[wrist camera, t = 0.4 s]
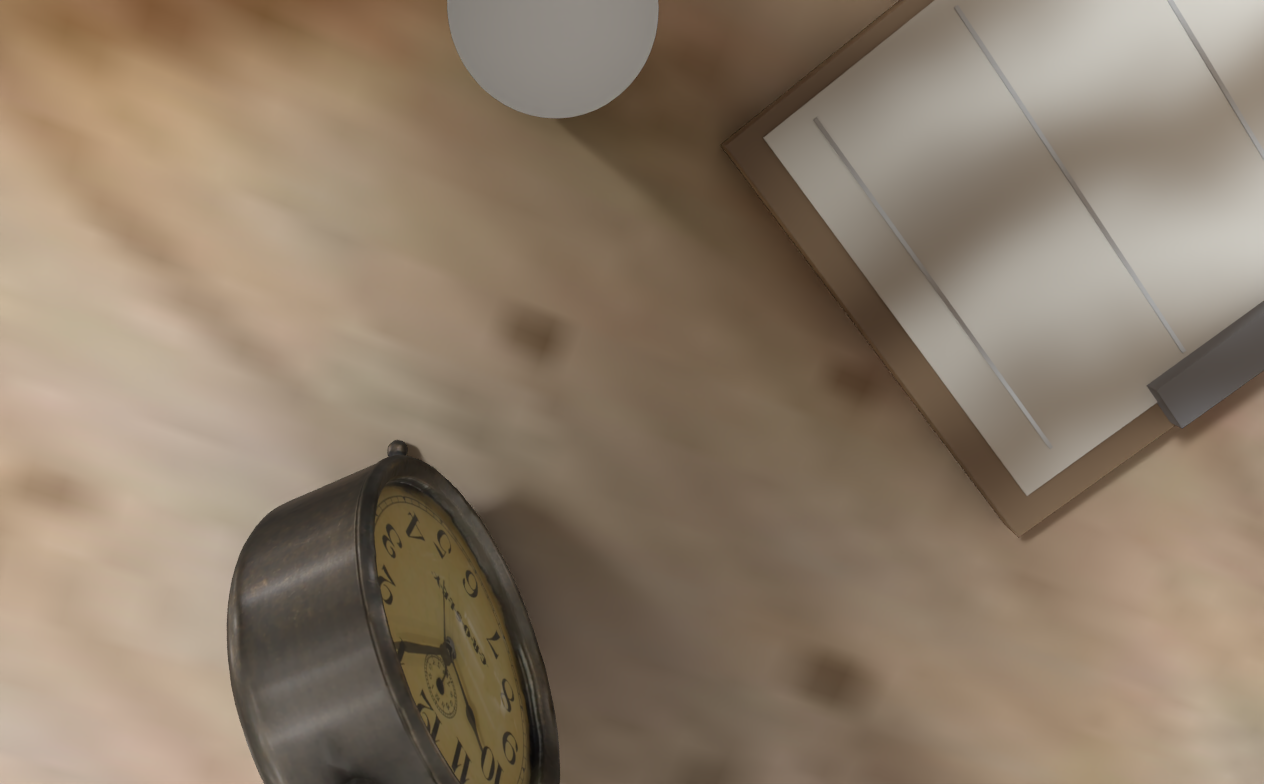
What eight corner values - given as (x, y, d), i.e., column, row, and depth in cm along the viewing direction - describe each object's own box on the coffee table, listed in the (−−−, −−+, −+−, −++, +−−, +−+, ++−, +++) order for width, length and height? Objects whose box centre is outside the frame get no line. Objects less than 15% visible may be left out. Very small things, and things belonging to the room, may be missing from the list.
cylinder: (474, 41, 31) (402, -10, 19) (574, -45, 30) (568, -154, 18) (557, 145, 31) (539, 160, 19) (655, 63, 31) (701, 27, 19)
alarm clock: (573, 671, 36) (565, 1098, 20) (433, 731, 36) (318, 1196, 21) (429, 394, 33) (291, 641, 18) (279, 461, 34) (12, 763, 18)
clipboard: (720, 144, 32) (729, 146, 30) (1285, -311, 29) (1332, -340, 27) (1004, 523, 35) (1027, 546, 33) (1528, 147, 33) (1584, 148, 31)
